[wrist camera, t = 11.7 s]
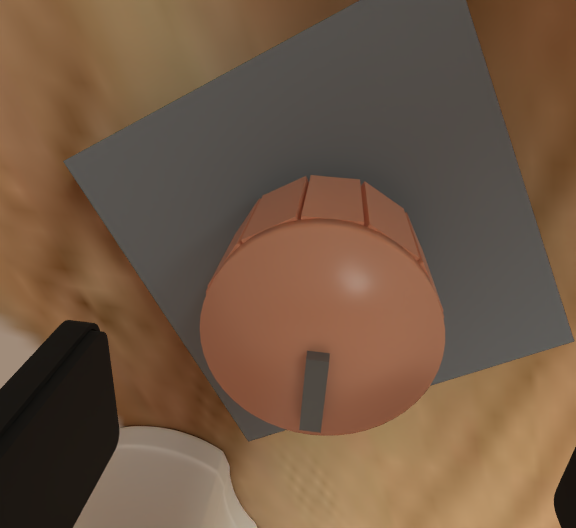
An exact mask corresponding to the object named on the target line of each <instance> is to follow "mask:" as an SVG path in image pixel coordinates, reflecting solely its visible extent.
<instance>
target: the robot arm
mask: <svg viewBox="0 0 576 528" xmlns="http://www.w3.org/2000/svg"><path fill="white" fill-rule="evenodd" d="M119 434H120V433H119V423H118V415H117V408H116V400H115V392H114V384H113V377H112V369H111V361H110V353H109V346H108V338H107V335H106V333H105V332H101V331H100V329H99V327H98V325H97V324H95V323H88V322H80V321H72V320H67V321H64V322H63V323H62V324H61V325H60V326H59V327H58V328H57V329H56V330H55V331H54V332H53V333H52V334H51V335H50V336H49V338H48V339H47V340H46V341H45V342H44V343H43V344H42V345H41V346H40V347H39V348H38V349H37V350H36V352H35V353H34V354H33V355H32V356H31V357H30V358H29V359H28V360H27V361H26V362H25V363H24V364H23V365H22V367H21V368H20V369H19V370H18V371H17V372H16V373H15V374H14V375H13V376H12V377H11V378H10V379H9V380H8V381H7V383H6V384H5V385H4V386H3V387H2V388H1V389H0V528H73V527H74V525H75V523H76V521H77V519H78V517H79V516H80V514H81V512H82V510H83V508H84V506H85V505H86V503H87V501H88V499H89V497H90V495H91V494H92V492H93V490H94V488H95V486H96V484H97V483H98V481H99V479H100V477H101V475H102V473H103V472H104V470H105V468H106V466H107V464H108V462H109V461H110V459H111V457H112V455H113V453H114V451H115V449H116V447H117V444H118V440H119ZM554 507H555V512H556V515H557V518H558V520H559V523H560V525H561V528H576V447H575V449H574V452H573V454H572V456H571V458H570V461H569V463H568V465H567V467H566V469H565V472H564V474H563V476H562V478H561V480H560V483H559V485H558V487H557V489H556V492H555V495H554Z"/></svg>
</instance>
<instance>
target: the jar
mask: <svg viewBox="0 0 576 528" xmlns="http://www.w3.org/2000/svg"><path fill="white" fill-rule="evenodd" d="M119 433H120V434H119V440H118V444H117V447H116V449H115V451H114V453H113V455H112V457H111V459H110V461H109V462H108V464H107V466H106V468H105V470H104V472H103V473H102V475H101V477H100V479H99V481H98V483H97V484H96V486H95V488H94V490H93V492H92V494H91V495H90V497H89V499H88V501H87V503H86V505H85V506H84V508H83V510H82V512H81V514H80V516H79V517H78V519H77V521H76V523H75V525H74V527H73V528H257V526H256V523H255V522H254V521H253V520H252V519H251V518H250V517H249V515H248V514H247V513H246V512H245V510H244V509H243V507H242V506H241V504H240V503H239V501H238V499H237V497H236V495H235V492H234V490H233V486H232V483H231V478H230V466H229V463H228V461H227V459H226V457H225V454H224V452H223V451H222V450H220V449H219V448H217V447H215V446H214V445H212V444H210V443H208V442H206V441H204V440H202V439H200V438H197V437H195V436H192V435H189V434H186V433H183V432H180V431H176V430H172V429H167V428H161V427H152V426H130V427H121V428H119Z"/></svg>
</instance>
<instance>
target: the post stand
mask: <svg viewBox="0 0 576 528" xmlns="http://www.w3.org/2000/svg"><path fill="white" fill-rule="evenodd" d="M63 162H64V163H65V165H66V166H67V168H68V169H69V171H70V172H71V174H72V175H73V177H74V178H75V180H76V181H77V183H78V185H79V186H80V188H81V189H82V191H83V192H84V194H85V195H86V197H87V198H88V200H89V201H90V203H91V204H92V206H93V207H94V209H95V210H96V212H97V213H98V215H99V216H100V218H101V219H102V221H103V222H104V224H105V225H106V227H107V228H108V230H109V231H110V233H111V234H112V236H113V237H114V239H115V240H116V242H117V243H118V245H119V247H120V248H121V250H122V251H123V253H124V254H125V256H126V257H127V259H128V260H129V262H130V263H131V265H132V266H133V268H134V269H135V271H136V272H137V274H138V275H139V277H140V278H141V280H142V281H143V283H144V284H145V286H146V287H147V289H148V290H149V292H150V293H151V295H152V296H153V298H154V299H155V301H156V302H157V304H158V305H159V307H160V309H161V310H162V312H163V313H164V315H165V316H166V318H167V319H168V321H169V322H170V324H171V325H172V327H173V328H174V330H175V331H176V333H177V334H178V336H179V337H180V339H181V340H182V342H183V343H184V345H185V346H186V348H187V349H188V351H189V352H190V354H191V355H192V357H193V358H194V360H195V361H196V363H197V364H198V366H199V367H200V369H201V371H202V372H203V374H204V375H205V377H206V378H207V380H208V381H209V383H210V384H211V386H212V387H213V389H214V390H215V392H216V393H217V395H218V396H219V398H220V399H221V401H222V402H223V404H224V405H225V407H226V408H227V410H228V411H229V413H230V414H231V416H232V417H233V419H234V420H235V422H236V423H237V425H238V426H239V428H240V429H241V431H242V433H243V434H244V436H245V437H246V439H247V440H248V441H252V440H255V439H258V438H261V437H265V436H268V435H271V434H274V433H278V432H281V431H284V430H286V429H283V428H280V427H277V426H275V425H272V424H270V423H267V422H265V421H263V420H261V419H259V418H258V417H256V416H254V415H252V414H251V413H249V412H248V411H246V410H245V409H243V408H242V407H241V406H240V405H239V404H237V403H236V402H235V401H234V400H233V399H232V398H231V397H230V396H229V395H228V394H227V393H226V392H225V391H224V390H223V389H222V387H221V386H220V385H219V383H218V382H217V381H216V379H215V378H214V376H213V374H212V372H211V370H210V369H209V367H208V364H207V362H206V359H205V357H204V353H203V349H202V345H201V339H200V316H201V311H202V306H203V302H204V300H205V297H206V290H207V288H208V284H209V282H210V280H211V279H212V277H213V275H214V273H215V271H216V269H217V267H218V265H219V263H220V262H221V260H222V258H223V256H224V254H225V252H226V250H227V248H228V246H229V245H230V243H231V241H232V239H233V237H234V235H235V233H236V232H237V231H238V229H239V228H240V226H241V225H242V223H243V222H244V220H245V219H246V217H247V216H248V214H249V213H250V211H251V210H252V208H253V207H254V205H255V204H256V202H257V201H258V200H259V198H260V199H261V198H262V196H263V195H265V194H267V193H269V192H271V191H274V190H276V189H278V188H280V187H282V186H285V185H287V184H289V183H291V182H293V181H296V180H298V179H300V178H302V177H304V176H306V177H307V179H308V181H309V180H310V176H311V175H316V176H327V177H338V178H349V179H360V183H361V185H362V184H363V183H364V181H365V182H367V183H368V184H369V185H371V186H372V187H374V188H375V189H377V190H378V191H379V192H381V193H382V194H384V195H385V196H386V197H388V198H389V199H391V200H392V201H394V202H395V203H396V204H398V205H399V206H401V207H402V208H404V211H405V213H406V212H407V214H408V217H409V219H410V221H411V224H412V226H413V229H414V231H415V233H416V236H417V238H418V241H419V243H420V246H421V248H422V250H423V253H424V256H425V258H426V261H427V264H428V267H429V270H430V273H431V276H432V279H433V282H434V285H435V287H436V290H437V293H438V296H439V299H440V302H441V305H442V308H443V311H444V312H443V314H444V325H445V347H444V354H443V358H442V361H441V364H440V367H439V370H438V372H437V374H436V376H435V378H434V380H433V382H432V383H431V385H434V384H437V383H440V382H444V381H447V380H450V379H454V378H457V377H460V376H463V375H467V374H470V373H473V372H476V371H480V370H483V369H486V368H489V367H493V366H496V365H499V364H502V363H506V362H509V361H512V360H515V359H519V358H522V357H525V356H528V355H532V354H535V353H538V352H541V351H545V350H548V349H551V348H554V347H558V346H561V345H564V344H567V343H571V342H574V339H573V336H572V333H571V329H570V326H569V323H568V320H567V317H566V314H565V311H564V307H563V304H562V301H561V298H560V295H559V292H558V289H557V285H556V282H555V279H554V276H553V273H552V270H551V267H550V263H549V260H548V257H547V254H546V251H545V248H544V244H543V241H542V238H541V235H540V232H539V229H538V226H537V222H536V219H535V216H534V213H533V210H532V207H531V204H530V200H529V197H528V194H527V191H526V188H525V185H524V182H523V178H522V175H521V172H520V169H519V166H518V163H517V160H516V156H515V153H514V150H513V147H512V144H511V141H510V138H509V134H508V131H507V128H506V125H505V122H504V119H503V115H502V112H501V109H500V106H499V103H498V100H497V97H496V93H495V90H494V87H493V84H492V81H491V78H490V75H489V71H488V68H487V65H486V62H485V59H484V56H483V53H482V49H481V46H480V43H479V40H478V37H477V34H476V31H475V27H474V24H473V21H472V18H471V15H470V12H469V8H468V5H467V2H466V0H359V1H358V2H356V3H354V4H352V5H350V6H348V7H347V8H345V9H343V10H341V11H339V12H337V13H336V14H334V15H332V16H330V17H328V18H326V19H324V20H323V21H321V22H319V23H317V24H315V25H313V26H312V27H310V28H308V29H306V30H304V31H302V32H301V33H299V34H297V35H295V36H293V37H291V38H289V39H288V40H286V41H284V42H282V43H280V44H278V45H277V46H275V47H273V48H271V49H269V50H267V51H266V52H264V53H262V54H260V55H258V56H256V57H254V58H253V59H251V60H249V61H247V62H245V63H243V64H242V65H240V66H238V67H236V68H234V69H232V70H230V71H229V72H227V73H225V74H223V75H221V76H219V77H218V78H216V79H214V80H212V81H210V82H208V83H207V84H205V85H203V86H201V87H199V88H197V89H195V90H194V91H192V92H190V93H188V94H186V95H184V96H183V97H181V98H179V99H177V100H175V101H173V102H172V103H170V104H168V105H166V106H164V107H162V108H160V109H159V110H157V111H155V112H153V113H151V114H149V115H148V116H146V117H144V118H142V119H140V120H138V121H137V122H135V123H133V124H131V125H129V126H127V127H125V128H124V129H122V130H120V131H118V132H116V133H114V134H113V135H111V136H109V137H107V138H105V139H103V140H102V141H100V142H98V143H96V144H94V145H92V146H90V147H89V148H87V149H85V150H83V151H81V152H79V153H78V154H76V155H74V156H72V157H70V158H68V159H66V160H65V161H63ZM431 385H430V386H431Z"/></svg>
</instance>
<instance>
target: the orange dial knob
mask: <svg viewBox="0 0 576 528" xmlns="http://www.w3.org/2000/svg"><path fill="white" fill-rule="evenodd" d="M443 312H444V311H443V308H442V305H441V302H440V299H439V296H438V293H437V290H436V287H435V285H434V282H433V279H432V276H431V273H430V270H429V267H428V264H427V261H426V258H425V256H424V253H423V250H422V248H421V246H420V243H419V241H418V238H417V236H416V233H415V231H414V229H413V226H412V224H411V221H410V219H409V217H408V214H407V212H406V213H405V211H404V208H402V207H401V206H399V205H398V204H396V203H395V202H394V201H392V200H391V199H389V198H388V197H386V196H385V195H384V194H382V193H381V192H379V191H378V190H377V189H375V188H374V187H372V186H371V185H369V184H368V183H367V182H365V181H364V183H363V184H362V185H361V183H360V179H349V178H338V177H327V176H316V175H311V176H310V180H309V181H308V179H307V177H306V176H304V177H302V178H300V179H298V180H296V181H293V182H291V183H289V184H287V185H285V186H282V187H280V188H278V189H276V190H274V191H271V192H269V193H267V194H265V195H263V196H262V198H261V199H260V198H259V200H258V201H257V202H256V204H255V205H254V207H253V208H252V210H251V211H250V213H249V214H248V216H247V217H246V219H245V220H244V222H243V223H242V225H241V226H240V228H239V229H238V231H237V232H236V233H235V235H234V237H233V239H232V241H231V243H230V245H229V246H228V248H227V250H226V252H225V254H224V256H223V258H222V260H221V262H220V263H219V265H218V267H217V269H216V271H215V273H214V275H213V277H212V279H211V280H210V282H209V284H208V288H207V290H206V297H205V300H204V302H203V306H202V311H201V316H200V339H201V345H202V349H203V353H204V357H205V359H206V362H207V364H208V367H209V369H210V370H211V372H212V374H213V376H214V378H215V379H216V381H217V382H218V383H219V385H220V386H221V387H222V389H223V390H224V391H225V392H226V393H227V394H228V395H229V396H230V397H231V398H232V399H233V400H234V401H235V402H236V403H237V404H239V405H240V406H241V407H242V408H243V409H245V410H246V411H248V412H249V413H251V414H252V415H254V416H256V417H258V418H259V419H261V420H263V421H265V422H267V423H270V424H272V425H275V426H277V427H280V428H283V429H286V430H290V431H294V432H298V433H304V434H310V435H343V434H351V433H356V432H360V431H365V430H368V429H371V428H374V427H377V426H380V425H382V424H384V423H386V422H388V421H390V420H392V419H394V418H396V417H397V416H399V415H400V414H402V413H403V412H405V411H406V410H407V409H409V408H410V407H411V406H412V405H413V404H415V403H416V402H417V401H418V400H419V399H420V397H421V396H422V395H423V394H424V393H425V392H426V390H427V389H428V388H429V386H430V385H431V383H432V382H433V380H434V378H435V376H436V374H437V372H438V370H439V367H440V364H441V361H442V358H443V354H444V347H445V325H444V314H443Z"/></svg>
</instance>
